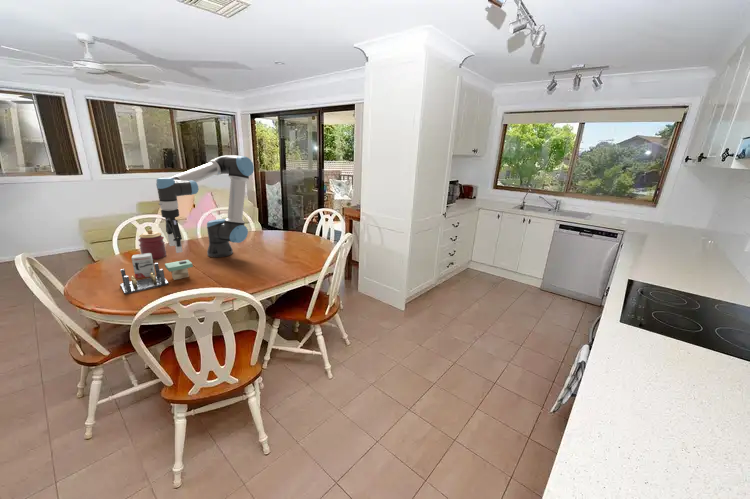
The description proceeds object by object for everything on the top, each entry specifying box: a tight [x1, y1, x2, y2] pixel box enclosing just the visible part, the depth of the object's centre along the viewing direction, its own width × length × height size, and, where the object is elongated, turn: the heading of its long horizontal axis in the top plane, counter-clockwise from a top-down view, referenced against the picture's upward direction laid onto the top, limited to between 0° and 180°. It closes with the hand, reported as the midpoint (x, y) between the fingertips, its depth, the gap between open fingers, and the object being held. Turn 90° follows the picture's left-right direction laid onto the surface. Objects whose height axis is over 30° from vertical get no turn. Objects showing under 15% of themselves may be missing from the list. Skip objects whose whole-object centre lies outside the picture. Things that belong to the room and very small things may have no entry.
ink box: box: [131, 253, 156, 279], centre depth 166 cm, size 8×5×12 cm, turn 123°
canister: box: [137, 229, 167, 260], centre depth 193 cm, size 13×13×18 cm
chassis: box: [119, 262, 170, 295], centre depth 156 cm, size 18×13×8 cm
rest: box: [170, 268, 190, 281], centre depth 167 cm, size 7×3×6 cm, turn 135°
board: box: [164, 259, 194, 273], centre depth 165 cm, size 11×8×3 cm
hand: (175, 248), depth 163 cm, fingers open, 13 cm apart
